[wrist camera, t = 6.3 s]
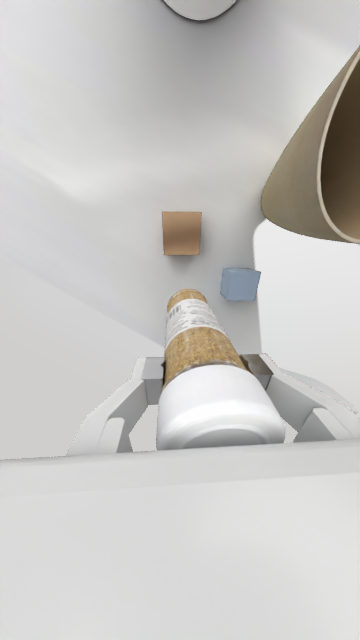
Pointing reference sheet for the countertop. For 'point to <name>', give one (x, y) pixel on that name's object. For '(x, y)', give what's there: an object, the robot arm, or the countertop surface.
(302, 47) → the countertop surface
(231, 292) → the slate blue block
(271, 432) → the sprinkles bottle
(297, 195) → the plant pot
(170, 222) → the walnut block
